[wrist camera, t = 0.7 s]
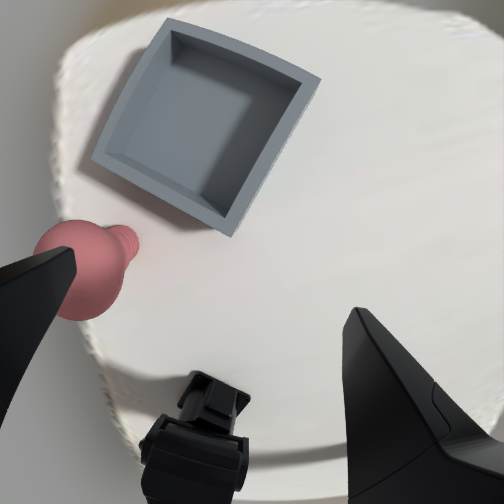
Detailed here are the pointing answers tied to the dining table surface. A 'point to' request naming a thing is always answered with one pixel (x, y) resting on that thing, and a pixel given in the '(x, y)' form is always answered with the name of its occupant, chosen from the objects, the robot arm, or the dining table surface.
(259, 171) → the blue-gray bin
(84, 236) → the light bulb
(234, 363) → the dining table surface
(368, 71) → the dining table surface
